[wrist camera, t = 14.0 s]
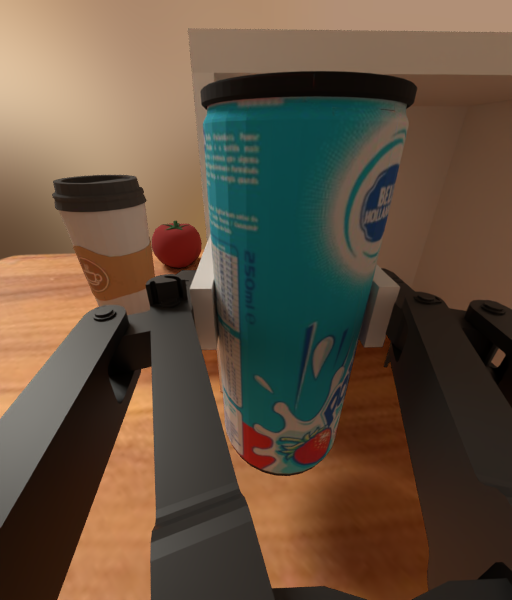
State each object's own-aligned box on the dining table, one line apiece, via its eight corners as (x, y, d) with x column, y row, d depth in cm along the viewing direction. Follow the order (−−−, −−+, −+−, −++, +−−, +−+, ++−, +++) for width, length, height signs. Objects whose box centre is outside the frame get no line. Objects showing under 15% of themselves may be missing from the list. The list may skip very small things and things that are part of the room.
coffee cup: (78, 317, 33) (26, 181, 26) (134, 288, 40) (106, 172, 32) (126, 337, 30) (83, 187, 22) (179, 302, 36) (160, 176, 29)
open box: (410, 298, 37) (477, 87, 26) (499, 384, 24) (714, 34, 13) (229, 301, 36) (217, 86, 25) (220, 391, 23) (187, 28, 12)
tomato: (205, 255, 51) (201, 215, 48) (199, 272, 44) (194, 227, 41) (161, 255, 51) (154, 215, 47) (148, 273, 44) (139, 228, 40)
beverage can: (299, 513, 12) (377, 54, 4) (202, 435, 15) (153, 88, 8) (351, 418, 16) (436, 96, 9) (266, 372, 19) (276, 108, 12)
